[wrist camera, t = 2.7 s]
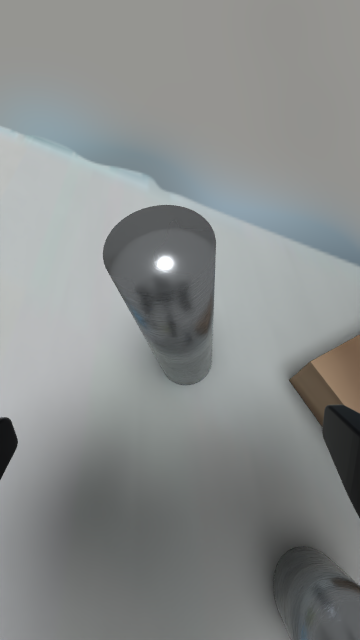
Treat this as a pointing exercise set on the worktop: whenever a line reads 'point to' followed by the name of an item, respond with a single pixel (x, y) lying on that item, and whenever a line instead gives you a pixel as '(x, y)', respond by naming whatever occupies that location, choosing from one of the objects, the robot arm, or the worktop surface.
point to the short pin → (316, 597)
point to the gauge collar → (331, 379)
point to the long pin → (168, 284)
